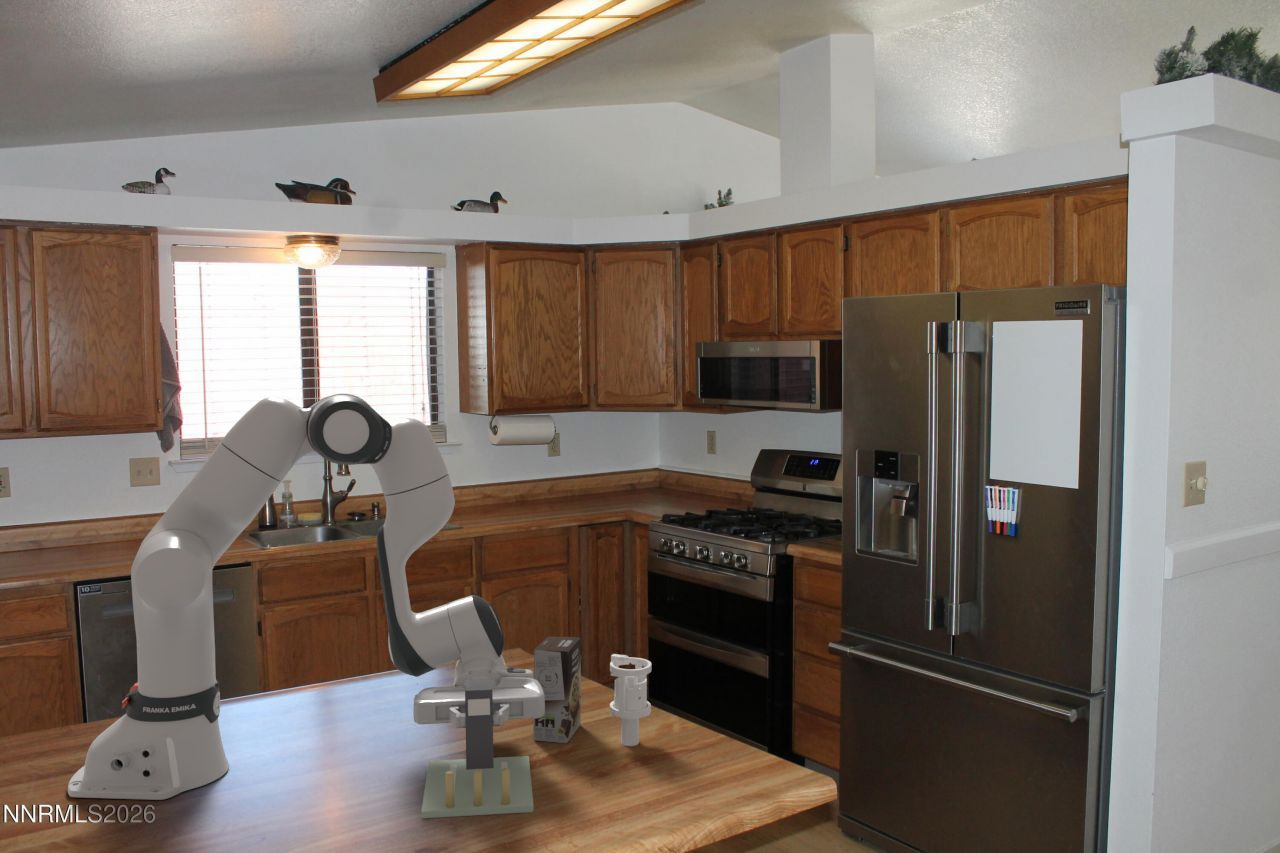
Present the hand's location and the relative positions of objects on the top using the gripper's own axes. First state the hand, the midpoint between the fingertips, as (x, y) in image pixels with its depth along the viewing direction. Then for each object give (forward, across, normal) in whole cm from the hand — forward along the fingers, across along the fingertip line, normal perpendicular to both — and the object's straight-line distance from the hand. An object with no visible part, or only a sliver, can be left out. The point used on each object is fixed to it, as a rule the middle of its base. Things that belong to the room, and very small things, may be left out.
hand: (479, 722), depth 152 cm
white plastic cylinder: (-18, +25, +12) cm, 33 cm away
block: (-1, 0, +6) cm, 7 cm away
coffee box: (-24, +13, +12) cm, 30 cm away
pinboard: (-3, 0, +12) cm, 12 cm away
